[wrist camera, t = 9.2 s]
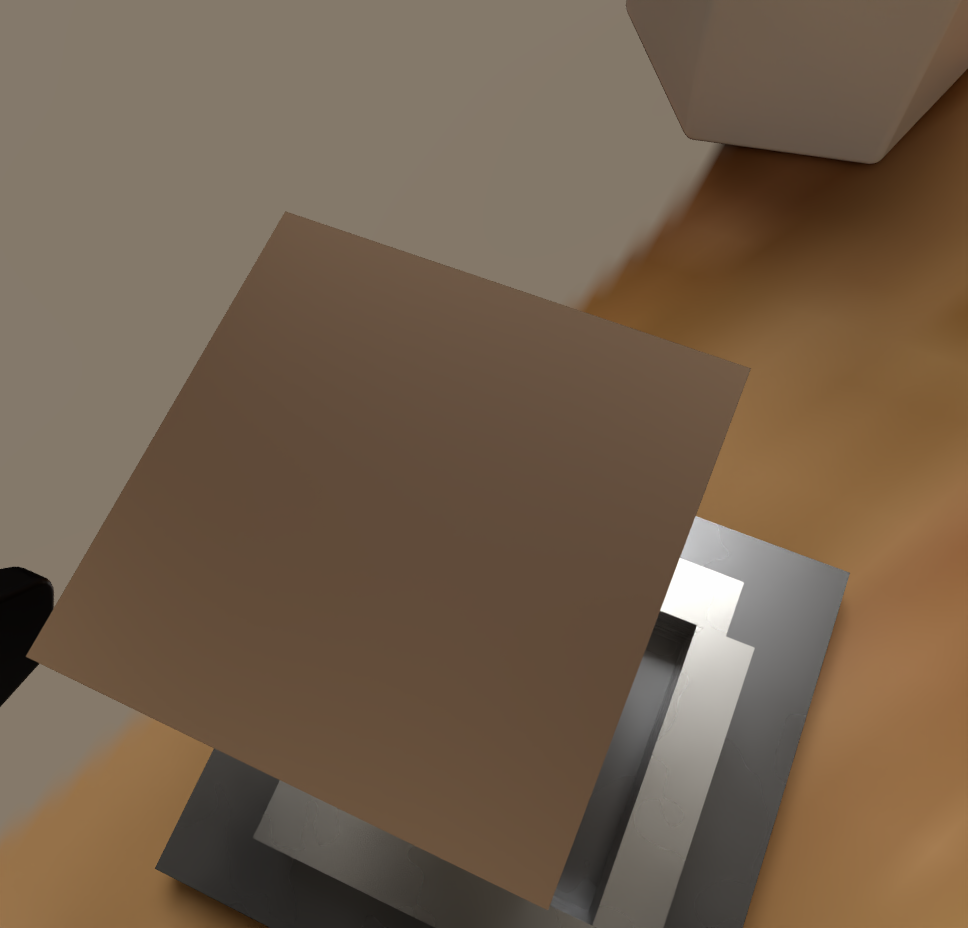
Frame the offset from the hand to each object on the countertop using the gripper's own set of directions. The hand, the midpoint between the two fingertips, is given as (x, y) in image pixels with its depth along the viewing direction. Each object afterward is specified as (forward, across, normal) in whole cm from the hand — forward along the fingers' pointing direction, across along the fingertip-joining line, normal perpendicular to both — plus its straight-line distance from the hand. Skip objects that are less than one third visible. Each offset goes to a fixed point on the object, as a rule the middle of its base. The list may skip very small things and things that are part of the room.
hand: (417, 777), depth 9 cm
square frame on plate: (+8, 0, +5) cm, 9 cm away
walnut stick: (+7, 0, +5) cm, 8 cm away
